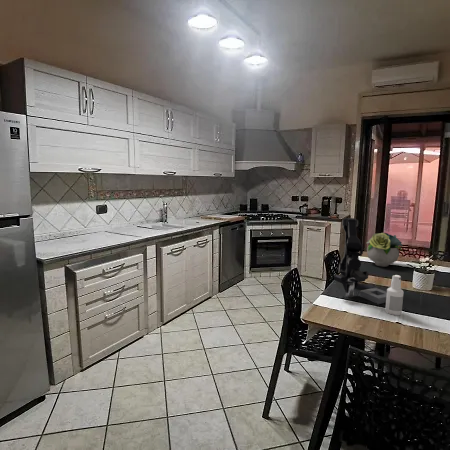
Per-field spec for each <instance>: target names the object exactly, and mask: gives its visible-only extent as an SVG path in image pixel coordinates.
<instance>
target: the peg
mask: <svg viewBox="0 0 450 450" xmlns="http://www.w3.org/2000/svg"><path fill="white" fill-rule="evenodd" d="M349 282H351V283H350V284H349V290H348V293H346V292H345V297H347V298H354V297H355V291H354V286H355V282H354V281H349Z"/></svg>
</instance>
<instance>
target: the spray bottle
mask: <svg viewBox="0 0 450 450" xmlns="http://www.w3.org/2000/svg"><path fill="white" fill-rule="evenodd" d="M401 279H402V277H401V275H398V274H395V275H392V277H391V283H390V287H388V288H387V289H386V292H387V297H386V303H385V309H384V311H385V312H386V313H387V314H388V315H389V314H390V315H391V316H392V315H393V316H401V315H402V314H403V313H402V311H403V302H404V301H403V300H404V290H403V289H402V288H401V286H402V285H401V284H402V283H401V282H402V280H401Z"/></svg>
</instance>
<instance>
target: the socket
mask: <svg viewBox="0 0 450 450" xmlns="http://www.w3.org/2000/svg"><path fill="white" fill-rule="evenodd" d="M358 295H359V297H361V298H363V299H365V300H367V301H371V302H373V303H375V304H377V305H380V304H384V303H385V304H386V297H387V290H383V289H379V288H377V287H372V288H367V289H362V290H359V294H358Z"/></svg>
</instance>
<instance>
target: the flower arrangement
mask: <svg viewBox="0 0 450 450" xmlns="http://www.w3.org/2000/svg"><path fill="white" fill-rule="evenodd" d="M366 244H368V245H367V249H366V250H367V251H366V254H367V255H366V256H367V259H368V258H369V260H370V261H372V262H373V263H374V265H375V266H376V267H377V266H378V267H382V268H385V267H389V265H390V264H393V263H395V262H396V261H398V260H399V257H400V251H401V252H402V251H403V249H402V247H403V244H402V241H401V240H400V239H399V238H397V235H396V234H393V235H392V234H390V233H388V232H381V233H374V234H373V235H372V236H371V237H370V238H369V239H368V240H367V241H366Z"/></svg>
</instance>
